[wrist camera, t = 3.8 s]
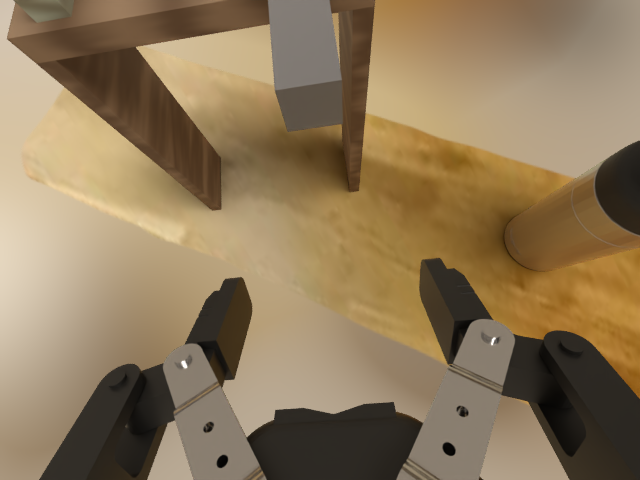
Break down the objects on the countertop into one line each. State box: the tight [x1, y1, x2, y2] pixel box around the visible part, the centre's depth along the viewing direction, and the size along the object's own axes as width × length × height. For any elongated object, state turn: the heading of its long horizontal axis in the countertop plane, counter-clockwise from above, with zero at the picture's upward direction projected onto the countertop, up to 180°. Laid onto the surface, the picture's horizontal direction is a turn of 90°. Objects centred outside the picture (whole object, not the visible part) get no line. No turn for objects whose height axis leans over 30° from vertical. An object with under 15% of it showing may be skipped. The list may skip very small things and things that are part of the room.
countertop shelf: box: [7, 0, 375, 210], centre depth 35 cm, size 25×10×35 cm, turn 96°
